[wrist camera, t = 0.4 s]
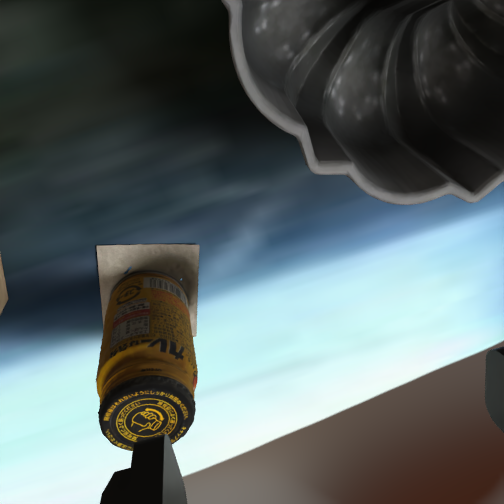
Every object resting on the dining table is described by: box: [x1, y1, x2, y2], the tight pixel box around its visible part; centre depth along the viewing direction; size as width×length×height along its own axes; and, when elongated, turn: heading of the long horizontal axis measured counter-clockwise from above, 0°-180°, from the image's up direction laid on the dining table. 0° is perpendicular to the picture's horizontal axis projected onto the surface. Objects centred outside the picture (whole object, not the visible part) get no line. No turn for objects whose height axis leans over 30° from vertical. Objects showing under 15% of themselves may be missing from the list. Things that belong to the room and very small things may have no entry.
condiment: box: [96, 244, 199, 451], centre depth 29 cm, size 7×8×12 cm
